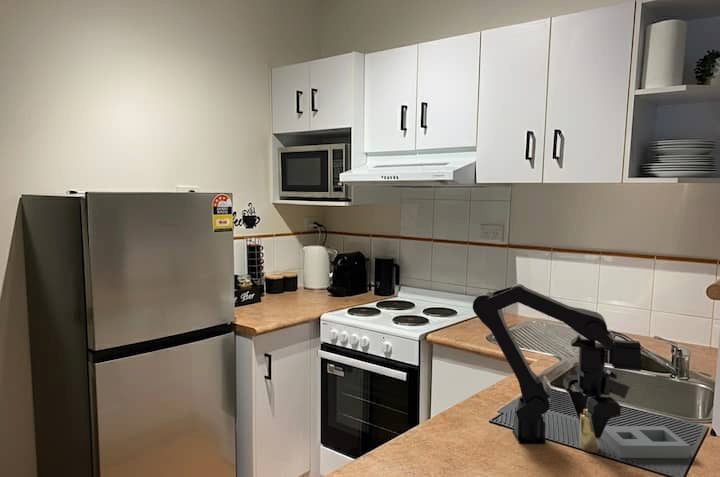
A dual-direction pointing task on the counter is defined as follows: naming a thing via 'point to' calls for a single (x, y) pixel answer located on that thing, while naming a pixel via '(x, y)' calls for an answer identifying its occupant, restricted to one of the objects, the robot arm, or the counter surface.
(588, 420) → the brass fitting
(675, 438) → the socket block
